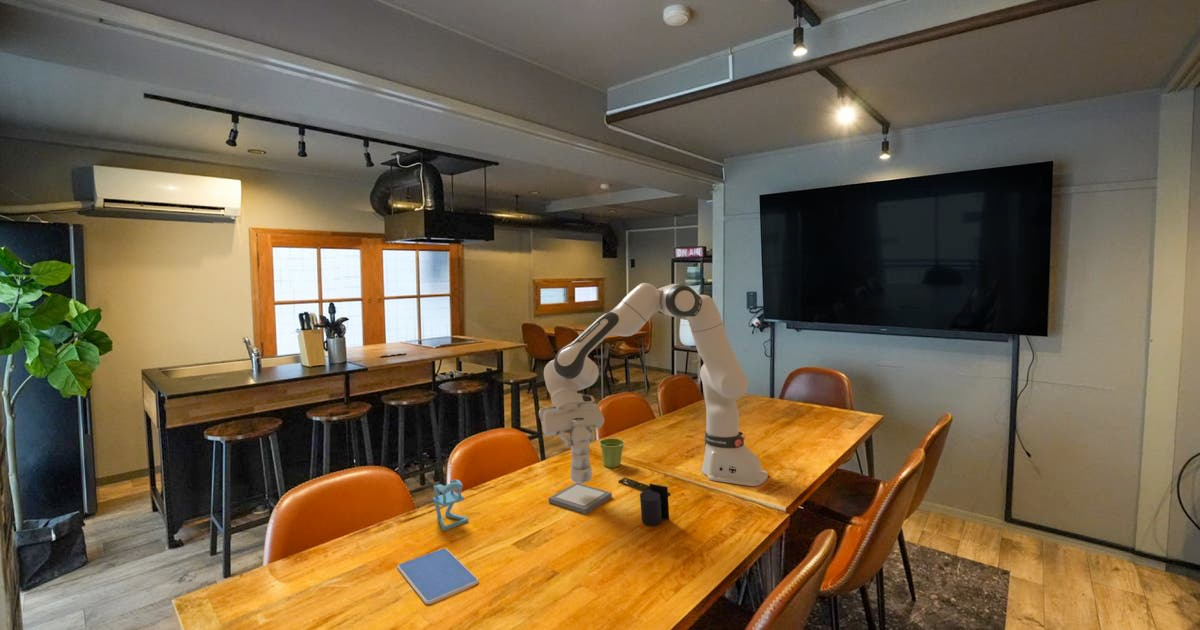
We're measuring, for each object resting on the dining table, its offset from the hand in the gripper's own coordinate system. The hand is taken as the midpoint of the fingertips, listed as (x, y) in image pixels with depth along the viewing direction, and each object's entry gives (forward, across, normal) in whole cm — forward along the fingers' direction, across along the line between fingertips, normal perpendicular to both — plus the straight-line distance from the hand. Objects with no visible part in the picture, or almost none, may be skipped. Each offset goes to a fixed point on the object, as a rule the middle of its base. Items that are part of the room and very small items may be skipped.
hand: (580, 443), depth 158 cm
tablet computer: (+27, -47, 0) cm, 54 cm away
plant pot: (-2, +23, +28) cm, 36 cm away
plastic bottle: (+8, +1, +10) cm, 13 cm away
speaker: (+29, +12, -3) cm, 32 cm away
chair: (+9, -39, +18) cm, 44 cm away
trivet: (+13, 0, +13) cm, 18 cm away
